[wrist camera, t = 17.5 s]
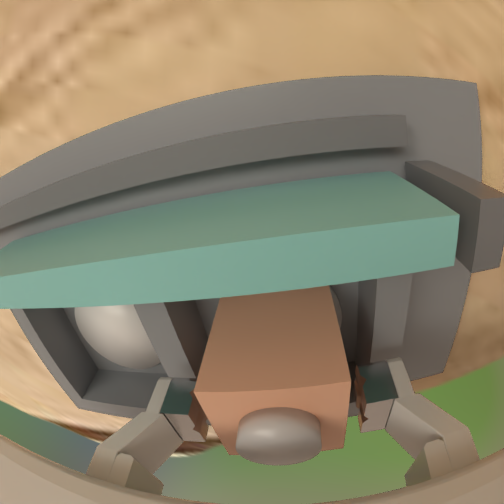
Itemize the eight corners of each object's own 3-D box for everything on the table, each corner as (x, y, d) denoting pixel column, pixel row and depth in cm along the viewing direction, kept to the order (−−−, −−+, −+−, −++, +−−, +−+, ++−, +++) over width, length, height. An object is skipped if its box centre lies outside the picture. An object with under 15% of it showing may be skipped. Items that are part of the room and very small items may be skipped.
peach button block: (326, 276, 11) (356, 406, 6) (329, 351, 13) (345, 467, 7) (222, 289, 12) (186, 415, 6) (242, 360, 13) (226, 473, 8)
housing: (462, 83, 8) (565, 86, 3) (437, 360, 14) (469, 436, 9) (-23, 194, 12) (-89, 232, 7) (66, 378, 18) (34, 432, 13)
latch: (390, 171, 9) (459, 214, 5) (391, 205, 9) (453, 265, 5) (13, 240, 11) (-44, 284, 7) (21, 261, 12) (-33, 308, 8)
